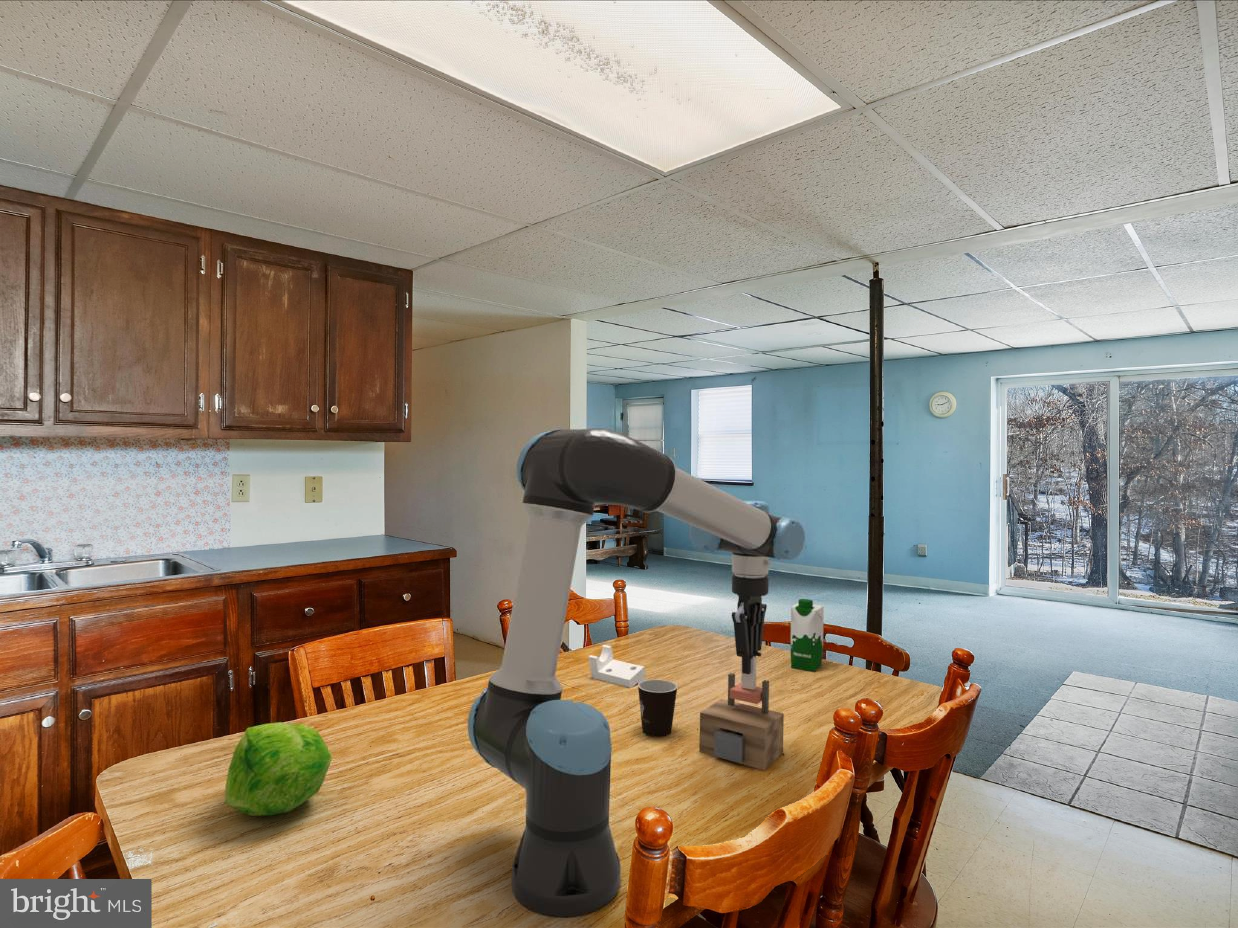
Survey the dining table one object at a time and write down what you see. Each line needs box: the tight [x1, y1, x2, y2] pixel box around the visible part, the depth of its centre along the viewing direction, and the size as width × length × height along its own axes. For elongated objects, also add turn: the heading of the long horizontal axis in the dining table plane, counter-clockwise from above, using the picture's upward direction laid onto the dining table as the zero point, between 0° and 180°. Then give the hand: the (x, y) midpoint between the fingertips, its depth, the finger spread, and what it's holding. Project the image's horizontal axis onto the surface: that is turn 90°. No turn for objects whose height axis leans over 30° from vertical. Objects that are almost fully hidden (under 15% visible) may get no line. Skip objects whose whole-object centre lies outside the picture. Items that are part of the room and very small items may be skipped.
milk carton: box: [790, 598, 825, 673], centre depth 195 cm, size 9×9×20 cm
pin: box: [714, 729, 745, 764], centre depth 137 cm, size 15×6×5 cm, turn 145°
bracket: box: [588, 644, 647, 689], centre depth 180 cm, size 13×7×8 cm, turn 54°
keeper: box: [730, 682, 762, 705], centre depth 138 cm, size 5×6×2 cm
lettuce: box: [224, 721, 333, 817], centre depth 112 cm, size 15×20×14 cm
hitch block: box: [698, 672, 785, 771], centre depth 136 cm, size 10×14×14 cm
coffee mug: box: [637, 678, 678, 738], centre depth 147 cm, size 12×9×10 cm
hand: (748, 687), depth 139 cm, fingers closed
